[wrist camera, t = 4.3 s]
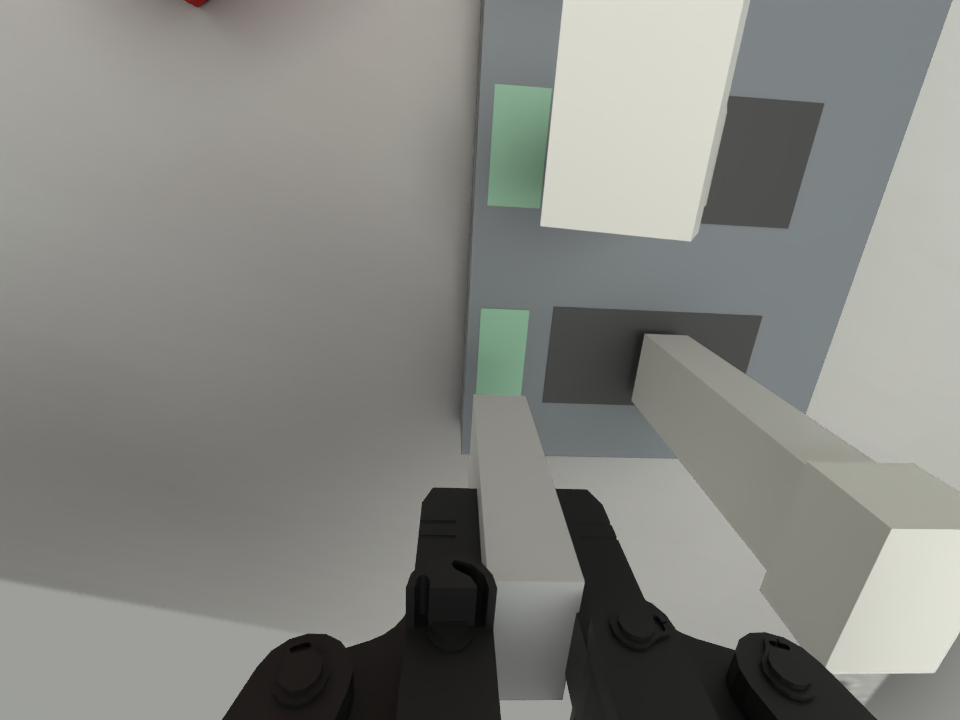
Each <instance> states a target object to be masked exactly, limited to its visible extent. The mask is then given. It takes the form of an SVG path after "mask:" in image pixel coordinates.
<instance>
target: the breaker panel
mask: <svg viewBox="0 0 960 720" xmlns="http://www.w3.org/2000/svg"><path fill="white" fill-rule="evenodd" d="M951 3H952V0H750V4H749V8H748V13H747V17H746V22H745V26H744V31H743V35H742V40H741V44H740V48H739V53H738V57H737V62H736V66H735V71H734V75H733V80H732V84H731V89H730V93H729V98H728V102H727V115H726V119H725V124H724V128H723V132H722V137H721V141H720V146H719V150H718V155H717V159H716V164H715V168H714V172H713V177H712V181H711V186H710V190H709V195H708V199H707V204H706V206H704V209H703V214H702V218H701V223H700V227H699V232H698V234H697V235H696V236H695V237H694V238H693V240H692V241H691V242H690V241H680V240H670V239H660V238H651V237H641V236H631V235H621V234H612V233H602V232H592V231H582V230H573V229H563V228H553V227H543V226H540V222H541V212H542V203H543V193H544V183H545V173H546V164H547V154H548V144H549V134H550V125H551V115H552V105H553V95H554V86H555V76H556V66H557V56H558V46H559V37H560V27H561V17H562V7H563V0H481V17H480V37H479V57H478V78H477V98H476V118H475V139H474V159H473V179H472V199H471V220H470V240H469V260H468V281H467V301H466V321H465V341H464V362H463V382H462V402H461V454H470V443H471V427H472V411H473V395H474V394H482V395H510V396H526V399H527V402H528V405H529V408H530V411H531V414H532V417H533V421H534V424H535V427H536V430H537V433H538V436H539V439H540V443H541V446H542V449H543V452H544V455H545V456H578V457H624V458H670V459H678V458H677V457H676V456H675V454H674V453H673V452H672V451H671V449H670V448H669V447H668V446H667V444H666V443H665V442H664V441H663V439H662V438H661V437H660V436H659V434H658V433H657V432H656V431H655V429H654V428H653V427H652V426H651V424H650V423H649V422H648V421H647V419H646V418H645V417H644V416H643V414H642V413H641V412H640V411H639V409H638V408H637V407H636V406H635V404H634V403H633V402H632V401H631V400H632V395H633V390H634V385H635V380H636V375H637V370H638V365H639V360H640V354H641V349H642V344H643V339H644V334H665V335H688V336H689V337H691V338H692V339H694V340H695V341H697V342H698V343H700V344H701V345H703V346H704V347H706V348H707V349H709V350H710V351H712V352H713V353H715V354H716V355H718V356H719V357H720V358H722V359H723V360H725V361H726V362H728V363H729V364H731V365H732V366H734V367H735V368H737V369H738V370H740V371H741V372H743V373H744V374H746V375H747V376H749V377H750V378H752V379H753V380H755V381H756V382H758V383H759V384H761V385H762V386H764V387H765V388H767V389H768V390H770V391H771V392H773V393H774V394H776V395H777V396H779V397H780V398H781V399H783V400H784V401H786V402H787V403H789V404H790V405H792V406H793V407H795V408H796V409H798V410H799V411H801V412H802V413H804V414H806V411H807V409H808V406H809V403H810V400H811V397H812V394H813V392H814V389H815V386H816V383H817V380H818V378H819V375H820V372H821V369H822V366H823V363H824V361H825V358H826V355H827V352H828V349H829V347H830V344H831V341H832V338H833V335H834V332H835V330H836V327H837V324H838V321H839V318H840V316H841V313H842V310H843V307H844V304H845V301H846V299H847V296H848V293H849V290H850V287H851V285H852V282H853V279H854V276H855V273H856V270H857V268H858V265H859V262H860V259H861V256H862V254H863V251H864V248H865V245H866V242H867V239H868V237H869V234H870V231H871V228H872V225H873V223H874V220H875V217H876V214H877V211H878V208H879V206H880V203H881V200H882V197H883V194H884V192H885V189H886V186H887V183H888V180H889V177H890V175H891V172H892V169H893V166H894V163H895V161H896V158H897V155H898V152H899V149H900V146H901V144H902V141H903V138H904V135H905V132H906V130H907V127H908V124H909V121H910V118H911V115H912V113H913V110H914V107H915V104H916V101H917V99H918V96H919V93H920V90H921V87H922V84H923V82H924V79H925V76H926V73H927V70H928V68H929V65H930V62H931V59H932V56H933V53H934V51H935V48H936V45H937V42H938V39H939V37H940V34H941V31H942V28H943V25H944V22H945V20H946V17H947V14H948V11H949V8H950V6H951Z"/></svg>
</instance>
